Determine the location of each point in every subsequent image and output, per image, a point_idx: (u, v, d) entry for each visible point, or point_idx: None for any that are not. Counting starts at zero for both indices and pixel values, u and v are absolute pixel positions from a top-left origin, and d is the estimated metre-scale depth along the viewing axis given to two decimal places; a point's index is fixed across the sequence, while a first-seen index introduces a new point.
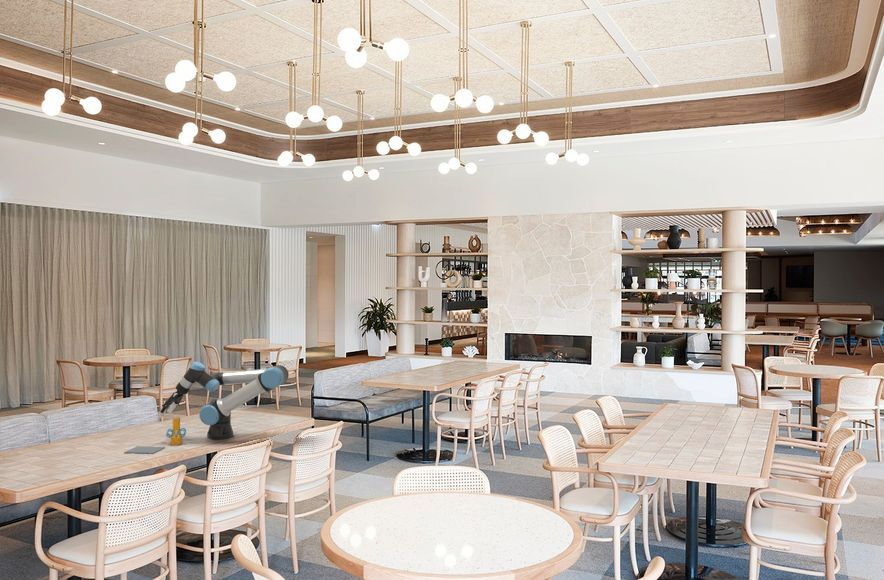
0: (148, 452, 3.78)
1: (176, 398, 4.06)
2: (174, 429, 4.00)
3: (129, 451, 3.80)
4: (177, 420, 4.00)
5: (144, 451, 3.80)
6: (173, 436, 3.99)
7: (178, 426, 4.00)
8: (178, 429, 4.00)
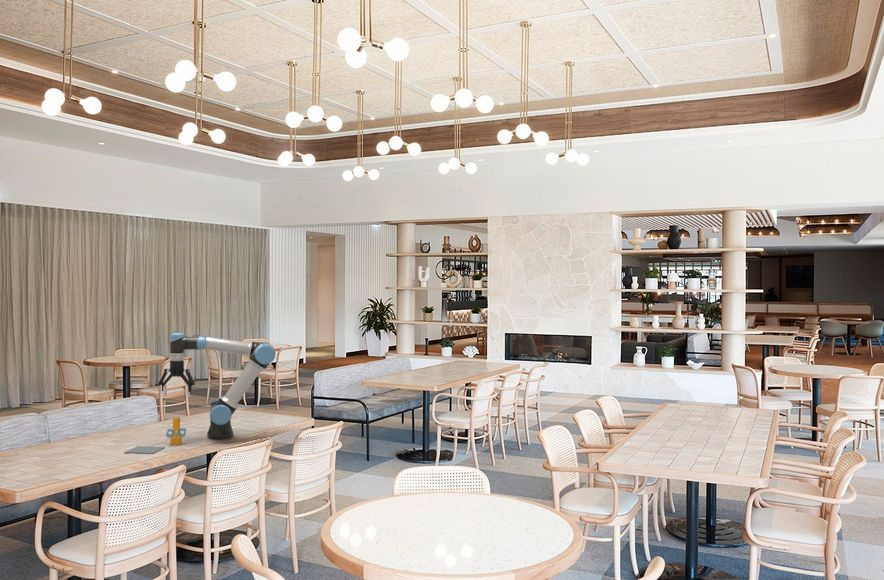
0: (148, 452, 3.78)
1: (183, 373, 4.03)
2: (174, 429, 4.00)
3: (129, 451, 3.80)
4: (177, 420, 4.00)
5: (144, 451, 3.80)
6: (173, 436, 3.99)
7: (178, 426, 4.00)
8: (178, 429, 4.00)
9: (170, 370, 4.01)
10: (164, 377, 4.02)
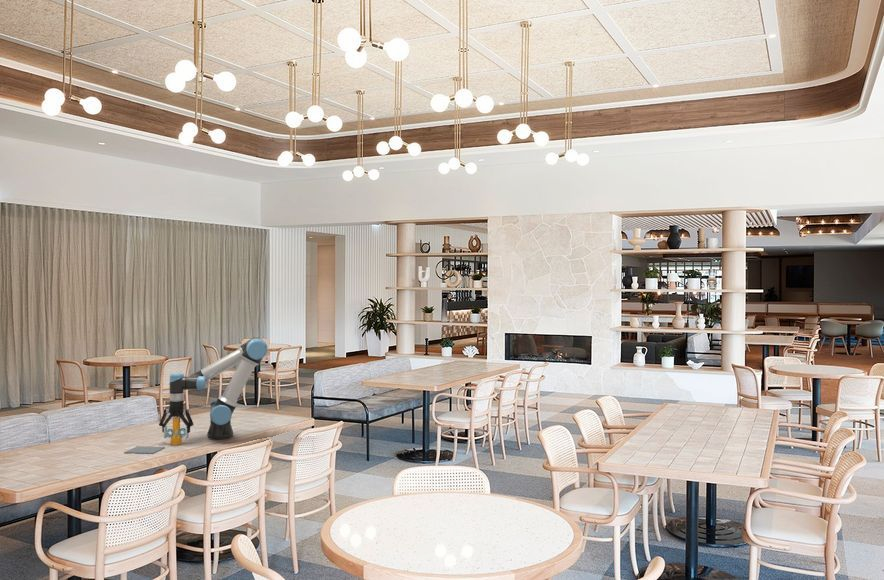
0: (148, 452, 3.78)
1: (182, 414, 4.03)
2: (174, 429, 4.00)
3: (129, 451, 3.80)
4: (177, 420, 4.00)
5: (144, 451, 3.80)
6: (173, 436, 3.99)
7: (178, 426, 4.00)
8: (178, 429, 4.00)
9: (170, 410, 4.00)
10: (164, 418, 4.02)
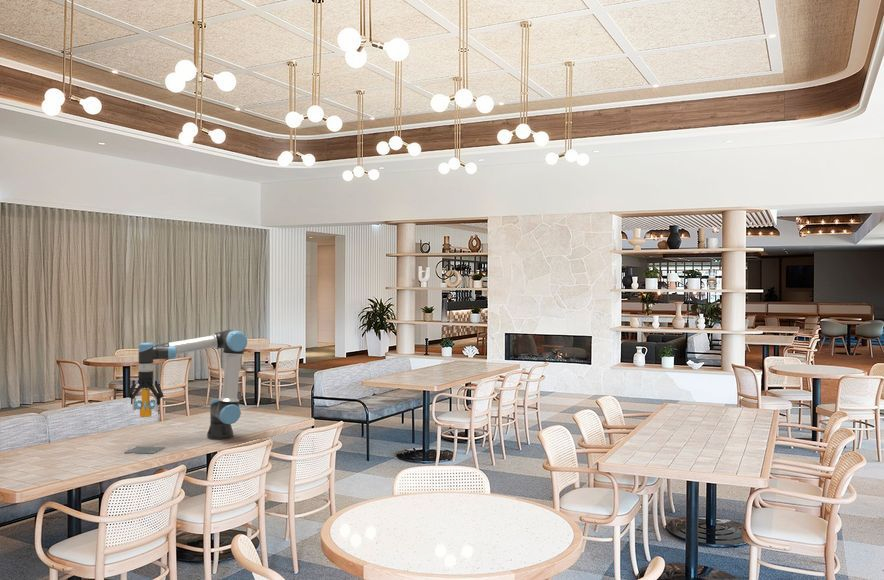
0: (148, 452, 3.78)
1: (152, 385, 3.86)
2: (143, 401, 3.83)
3: (129, 451, 3.80)
4: (146, 391, 3.83)
5: (144, 451, 3.80)
6: (142, 408, 3.82)
7: (147, 398, 3.84)
8: (147, 401, 3.84)
9: (138, 381, 3.84)
10: (133, 389, 3.85)
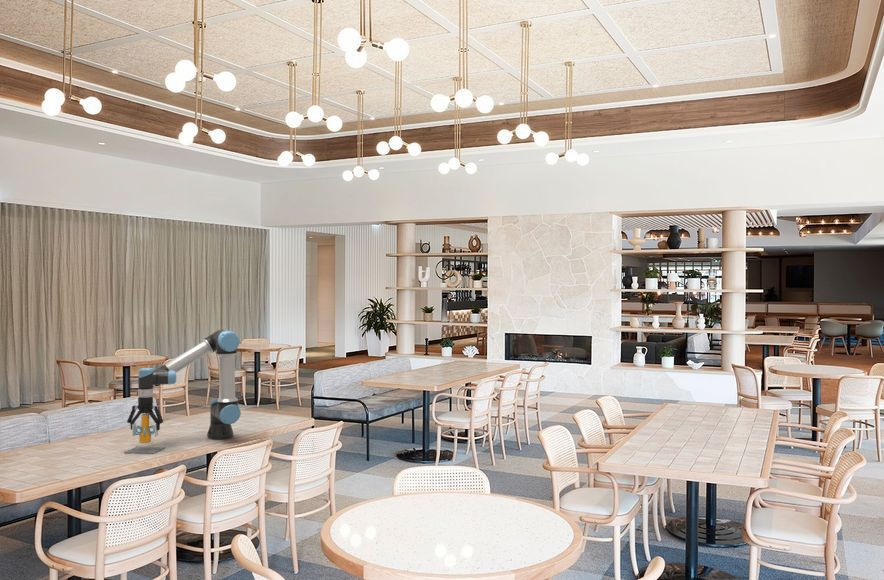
0: (148, 452, 3.78)
1: None
2: (143, 426, 3.83)
3: (129, 451, 3.80)
4: (146, 417, 3.83)
5: (144, 451, 3.80)
6: (142, 433, 3.82)
7: (147, 423, 3.84)
8: (147, 426, 3.84)
9: (138, 407, 3.84)
10: (133, 414, 3.85)
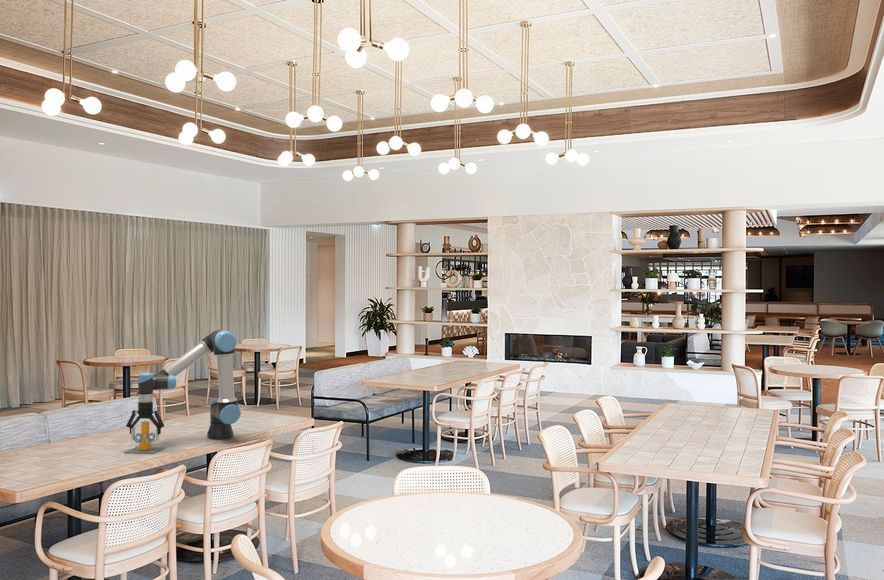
0: (148, 452, 3.78)
1: (152, 415, 3.86)
2: (142, 434, 3.83)
3: (129, 451, 3.80)
4: (146, 424, 3.84)
5: (144, 451, 3.80)
6: (141, 441, 3.83)
7: (147, 430, 3.84)
8: (147, 434, 3.84)
9: (138, 412, 3.84)
10: (132, 419, 3.85)
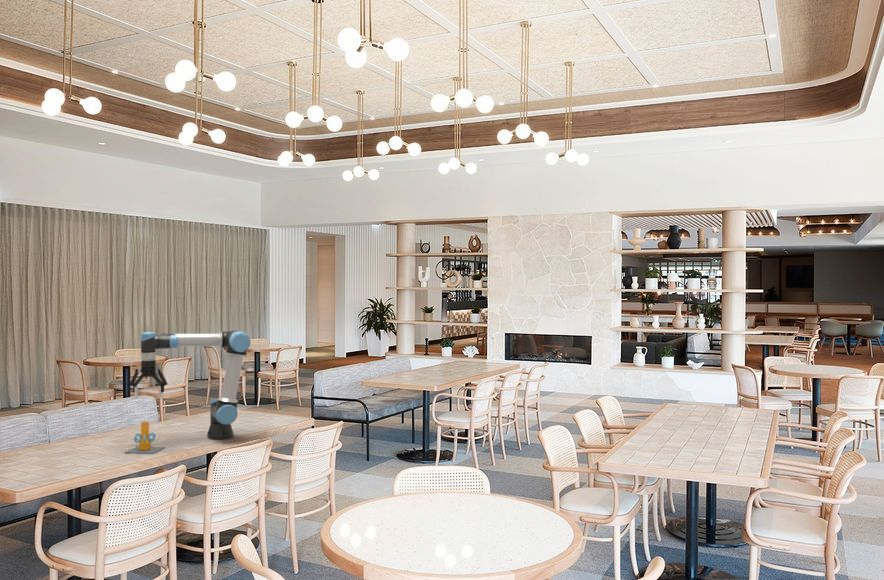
0: (148, 452, 3.78)
1: None
2: (142, 434, 3.83)
3: (129, 451, 3.80)
4: (145, 424, 3.83)
5: (144, 451, 3.80)
6: (141, 441, 3.83)
7: (147, 431, 3.84)
8: (147, 434, 3.84)
9: (141, 370, 3.89)
10: (135, 378, 3.90)
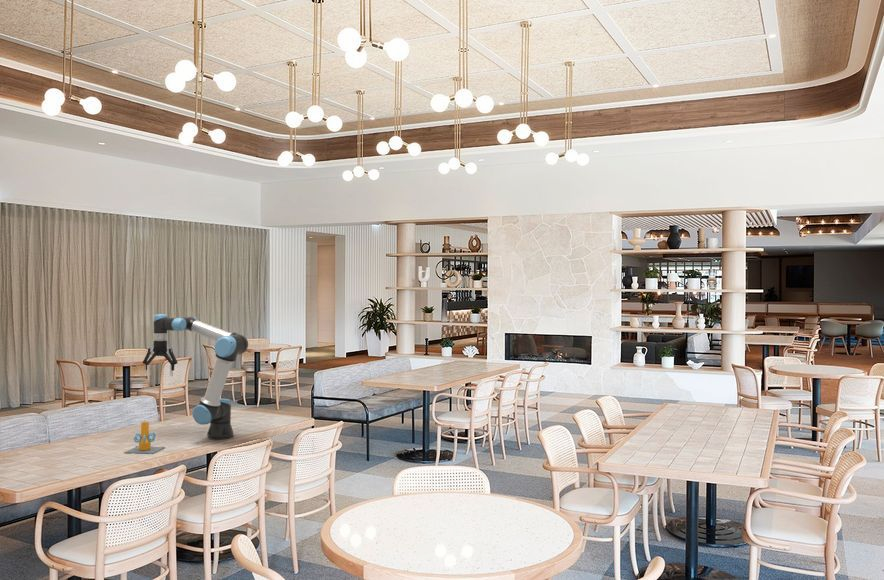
0: (148, 452, 3.78)
1: (166, 353, 4.19)
2: (142, 434, 3.83)
3: (129, 451, 3.80)
4: (145, 424, 3.83)
5: (144, 451, 3.80)
6: (141, 441, 3.83)
7: (146, 431, 3.84)
8: (147, 434, 3.84)
9: (154, 350, 4.17)
10: (148, 356, 4.18)
